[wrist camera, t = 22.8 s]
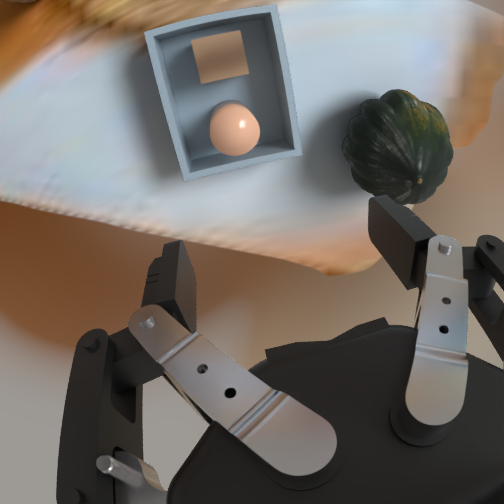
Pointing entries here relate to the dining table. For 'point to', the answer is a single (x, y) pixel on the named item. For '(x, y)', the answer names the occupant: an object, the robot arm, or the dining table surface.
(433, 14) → the dining table surface
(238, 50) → the walnut cube
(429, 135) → the squash
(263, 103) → the tote
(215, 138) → the terracotta cylinder
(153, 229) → the dining table surface
